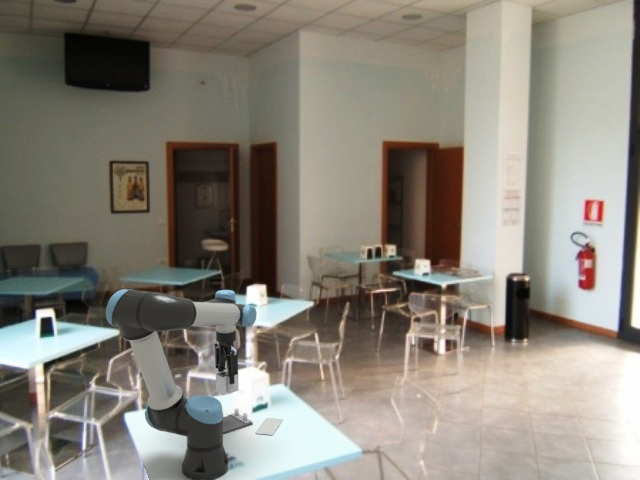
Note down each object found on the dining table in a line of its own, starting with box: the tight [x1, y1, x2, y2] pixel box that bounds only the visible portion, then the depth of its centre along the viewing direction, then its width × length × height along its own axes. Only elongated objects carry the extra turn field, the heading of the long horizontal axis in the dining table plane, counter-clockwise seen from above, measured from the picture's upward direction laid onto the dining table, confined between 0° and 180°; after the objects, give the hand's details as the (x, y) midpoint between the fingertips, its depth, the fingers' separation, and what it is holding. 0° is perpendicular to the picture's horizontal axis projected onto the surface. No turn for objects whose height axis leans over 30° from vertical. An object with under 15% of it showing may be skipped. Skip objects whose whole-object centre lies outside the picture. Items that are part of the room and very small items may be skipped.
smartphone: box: [255, 417, 284, 437], centre depth 226 cm, size 7×1×15 cm
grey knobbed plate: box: [223, 408, 254, 435], centre depth 227 cm, size 16×12×4 cm
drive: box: [215, 370, 239, 396], centre depth 225 cm, size 7×5×7 cm
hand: (226, 389), depth 225 cm, fingers closed on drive, 5 cm apart
